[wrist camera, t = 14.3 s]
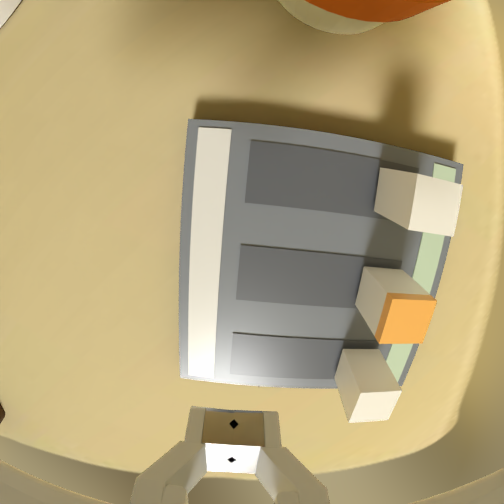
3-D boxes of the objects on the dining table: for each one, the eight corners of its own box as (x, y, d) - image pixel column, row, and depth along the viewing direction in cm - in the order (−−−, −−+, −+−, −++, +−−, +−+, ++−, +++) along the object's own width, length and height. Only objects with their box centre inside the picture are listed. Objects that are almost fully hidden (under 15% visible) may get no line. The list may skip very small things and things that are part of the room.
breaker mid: (363, 266, 20) (392, 298, 15) (402, 269, 20) (436, 300, 15) (355, 304, 21) (378, 343, 16) (392, 306, 21) (422, 343, 16)
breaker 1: (342, 348, 22) (360, 392, 17) (379, 349, 22) (402, 390, 17) (334, 377, 23) (348, 422, 18) (368, 377, 23) (387, 419, 18)
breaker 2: (380, 167, 18) (417, 173, 13) (419, 175, 18) (463, 185, 14) (373, 211, 19) (408, 229, 14) (413, 217, 19) (453, 237, 14)
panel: (192, 121, 19) (188, 118, 18) (452, 163, 20) (464, 164, 18) (183, 366, 25) (179, 378, 24) (396, 375, 26) (402, 386, 24)
